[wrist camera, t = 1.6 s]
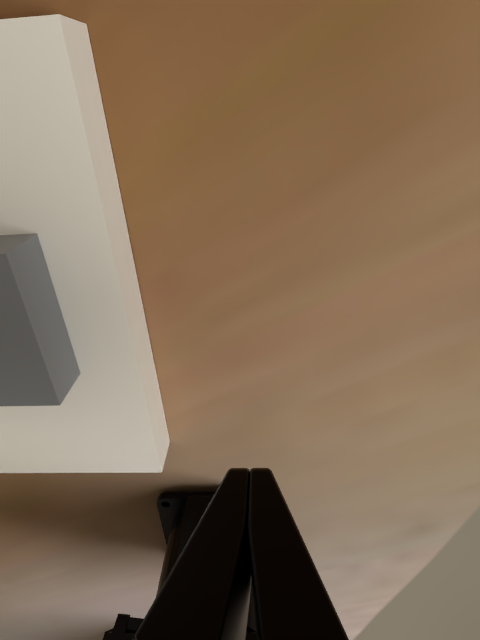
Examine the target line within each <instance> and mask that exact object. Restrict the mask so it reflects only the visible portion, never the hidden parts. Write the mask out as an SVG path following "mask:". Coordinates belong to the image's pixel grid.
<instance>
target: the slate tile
mask: <svg viewBox="0 0 480 640" xmlns="http://www.w3.org/2000/svg"><path fill="white" fill-rule="evenodd" d="M80 374H81V373H80V370H79V367H78V363H77V360H76V357H75V354H74V350H73V347H72V344H71V341H70V338H69V334H68V331H67V328H66V325H65V321H64V318H63V315H62V312H61V309H60V305H59V302H58V299H57V296H56V292H55V289H54V286H53V283H52V280H51V276H50V273H49V270H48V267H47V263H46V260H45V257H44V254H43V251H42V247H41V244H40V241H39V238H38V234H16V235H0V406H58V405H61V403H62V402H63V400H64V399H65V397H66V395H67V394H68V392H69V391H70V389H71V388H72V386H73V384H74V383H75V381H76V380H77V378H78V377H79V375H80Z"/></svg>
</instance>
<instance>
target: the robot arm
mask: <svg viewBox="0 0 480 640" xmlns="http://www.w3.org/2000/svg"><path fill="white" fill-rule="evenodd" d="M157 507H158V511H159V515H160V519H161V523H162V527H163V531H164V535H165V539H166V543H167V548H166V553H165V557H164V562H163V567H162V572H161V576H160V581H159V586H158V591H157V595H156V599H155V601H154V602H153V604H152V606H151V608H150V609H149V611H148V613H147V615H146V616H145V618H144V619H141V618H132V617H130V615H127V614H118V617H117V619H116V622H115V625H114V628H113V629H111V630H109V631H106V632H105V634H104V637H103V640H349V639H348V637H347V635H346V632H345V630H344V628H343V626H342V624H341V621H340V619H339V617H338V615H337V613H336V611H335V608H334V606H333V604H332V602H331V600H330V598H329V595H328V593H327V591H326V589H325V587H324V584H323V582H322V580H321V578H320V576H319V574H318V571H317V569H316V567H315V565H314V563H313V560H312V558H311V556H310V554H309V552H308V550H307V547H306V545H305V543H304V541H303V539H302V536H301V534H300V532H299V530H298V528H297V526H296V523H295V521H294V519H293V517H292V515H291V512H290V510H289V508H288V506H287V504H286V502H285V499H284V497H283V495H282V493H281V491H280V488H279V486H278V484H277V482H276V480H275V478H274V475H273V473H272V471H271V470H270V469H269V468H252V469H251V470H250V471H249V469H247V468H231V469H229V470H228V472H227V473H226V475H225V477H224V479H223V480H222V482H221V484H220V486H219V487H218V489H217V491H216V493H162V494H160V495H159V497H158V501H157Z"/></svg>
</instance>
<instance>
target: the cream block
mask: <svg viewBox="0 0 480 640" xmlns="http://www.w3.org/2000/svg"><path fill="white" fill-rule="evenodd" d="M16 234H38V238H39V241H40V244H41V247H42V251H43V254H44V257H45V260H46V263H47V267H48V270H49V273H50V276H51V280H52V283H53V286H54V289H55V292H56V296H57V299H58V302H59V305H60V309H61V312H62V315H63V318H64V321H65V325H66V328H67V331H68V334H69V338H70V341H71V344H72V347H73V350H74V354H75V357H76V360H77V363H78V367H79V370H80V373H81V374H80V375H79V377H78V378H77V380H76V381H75V383H74V384H73V386H72V388H71V389H70V391H69V392H68V394H67V395H66V397H65V399H64V400H63V402H62V403H61V405H58V406H0V473H162V470H163V466H164V462H165V458H166V455H167V451H168V447H169V443H170V440H169V435H168V430H167V425H166V420H165V415H164V410H163V405H162V400H161V395H160V390H159V385H158V380H157V375H156V370H155V365H154V360H153V355H152V350H151V345H150V340H149V335H148V330H147V325H146V320H145V315H144V310H143V305H142V300H141V295H140V290H139V285H138V280H137V275H136V270H135V265H134V260H133V255H132V250H131V245H130V240H129V235H128V230H127V225H126V220H125V215H124V210H123V205H122V200H121V195H120V190H119V185H118V180H117V175H116V170H115V165H114V160H113V155H112V150H111V145H110V140H109V135H108V130H107V125H106V120H105V115H104V110H103V105H102V100H101V95H100V89H99V84H98V79H97V74H96V69H95V64H94V59H93V54H92V49H91V44H90V39H89V34H88V29H87V24H85V23H82V22H79V21H76V20H74V19H71V18H68V17H65V16H62V15H60V14H56V15H45V16H33V17H22V18H11V19H0V235H16Z"/></svg>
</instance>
